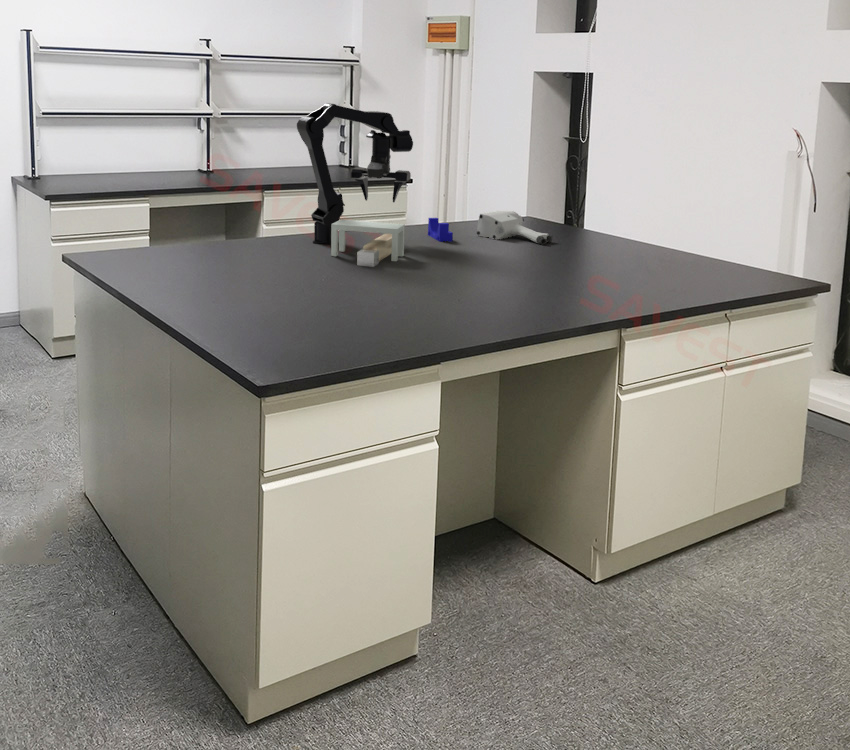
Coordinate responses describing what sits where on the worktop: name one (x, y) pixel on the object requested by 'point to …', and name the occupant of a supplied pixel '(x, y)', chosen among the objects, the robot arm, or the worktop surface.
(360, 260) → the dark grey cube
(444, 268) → the worktop surface
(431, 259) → the worktop surface
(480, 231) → the impact wrench
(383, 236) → the batten
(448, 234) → the cable clip
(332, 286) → the worktop surface
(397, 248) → the small white table
